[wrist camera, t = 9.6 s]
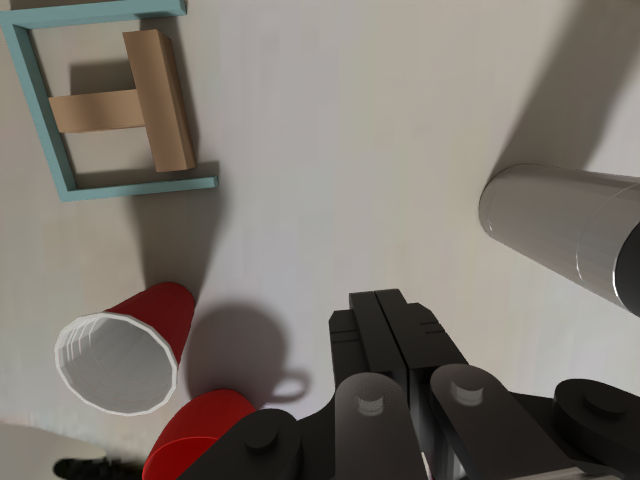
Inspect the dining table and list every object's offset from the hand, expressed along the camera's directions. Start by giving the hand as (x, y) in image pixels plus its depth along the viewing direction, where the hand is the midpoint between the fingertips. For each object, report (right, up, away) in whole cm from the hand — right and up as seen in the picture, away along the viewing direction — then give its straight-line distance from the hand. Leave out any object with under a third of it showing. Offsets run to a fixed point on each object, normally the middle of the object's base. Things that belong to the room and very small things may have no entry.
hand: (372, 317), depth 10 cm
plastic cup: (-20, -5, +29) cm, 36 cm away
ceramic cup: (-13, -21, +35) cm, 43 cm away
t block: (-21, +15, +23) cm, 34 cm away
